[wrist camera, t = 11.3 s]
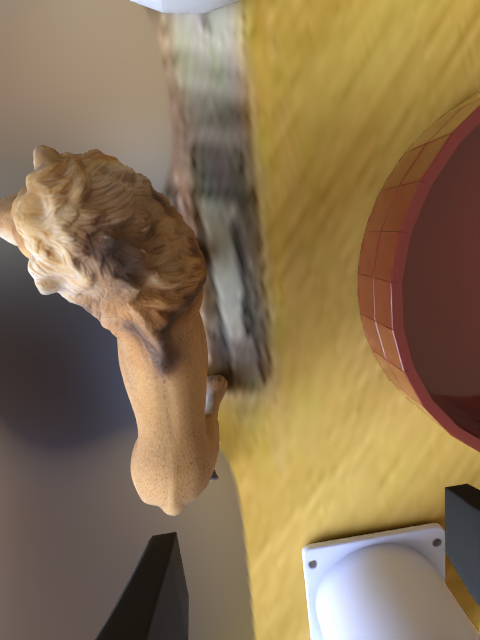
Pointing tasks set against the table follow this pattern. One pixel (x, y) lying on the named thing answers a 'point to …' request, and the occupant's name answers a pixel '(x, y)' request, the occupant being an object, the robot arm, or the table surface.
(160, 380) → the lion figurine
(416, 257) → the bowl
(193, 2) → the donut
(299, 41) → the table surface
